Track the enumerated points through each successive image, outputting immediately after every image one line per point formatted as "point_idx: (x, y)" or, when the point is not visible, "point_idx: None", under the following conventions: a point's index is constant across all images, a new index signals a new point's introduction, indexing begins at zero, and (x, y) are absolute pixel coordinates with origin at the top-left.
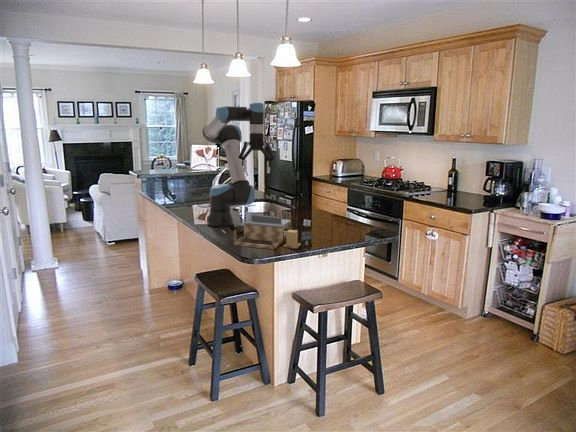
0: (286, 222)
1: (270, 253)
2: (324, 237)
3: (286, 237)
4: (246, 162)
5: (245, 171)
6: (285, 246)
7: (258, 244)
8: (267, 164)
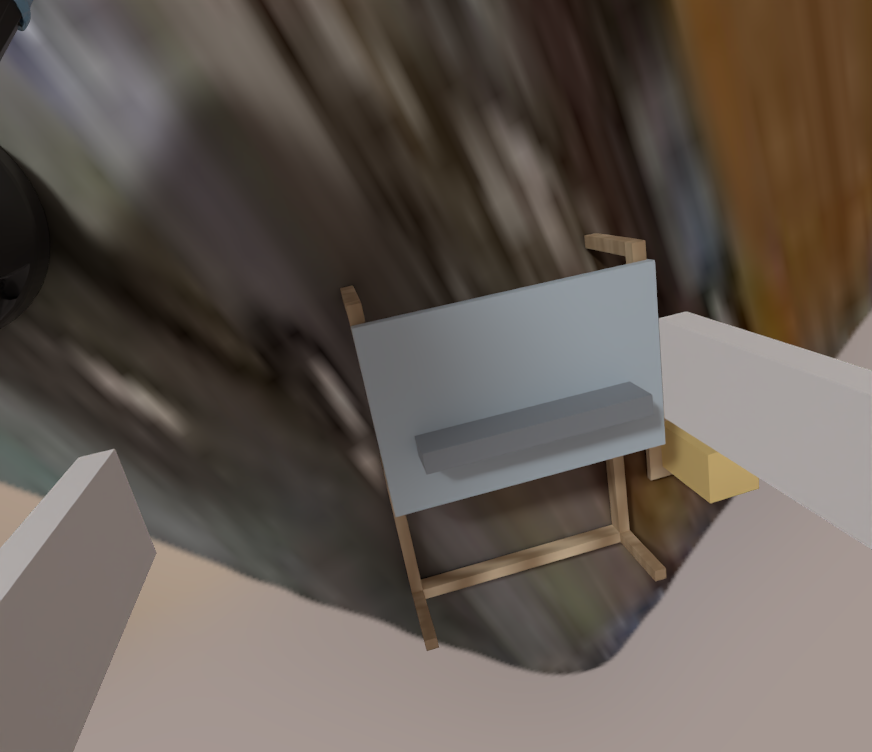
0: (655, 348)
1: (628, 579)
2: (791, 164)
3: (689, 486)
4: (9, 609)
5: (137, 519)
6: (661, 476)
7: (548, 558)
8: (821, 507)
